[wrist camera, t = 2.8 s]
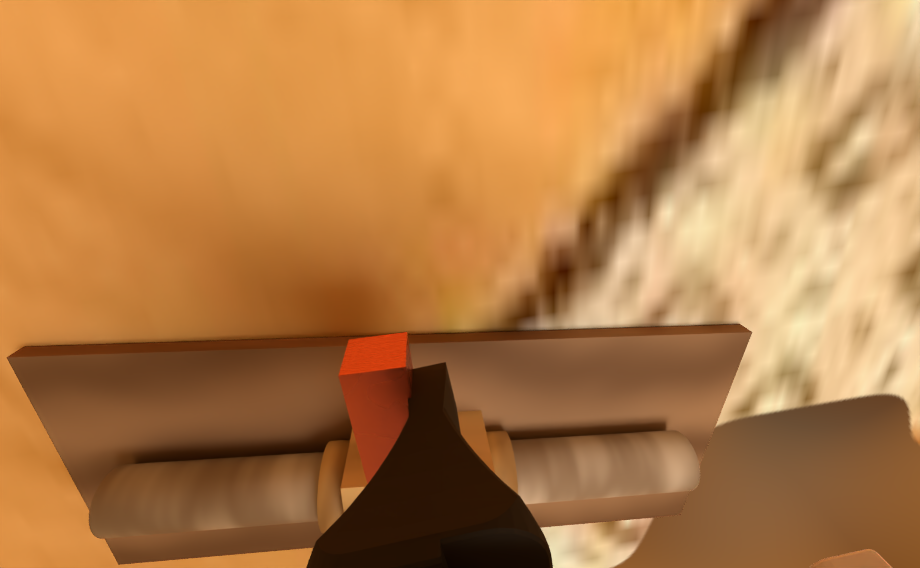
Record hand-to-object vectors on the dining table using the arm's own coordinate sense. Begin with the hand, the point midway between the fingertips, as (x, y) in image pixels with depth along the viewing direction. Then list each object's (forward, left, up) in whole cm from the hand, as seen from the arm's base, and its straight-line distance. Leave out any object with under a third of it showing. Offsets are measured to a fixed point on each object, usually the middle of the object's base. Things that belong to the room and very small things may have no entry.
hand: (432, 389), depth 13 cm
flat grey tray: (-8, +1, -6) cm, 10 cm away
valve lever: (-3, +1, 0) cm, 3 cm away
